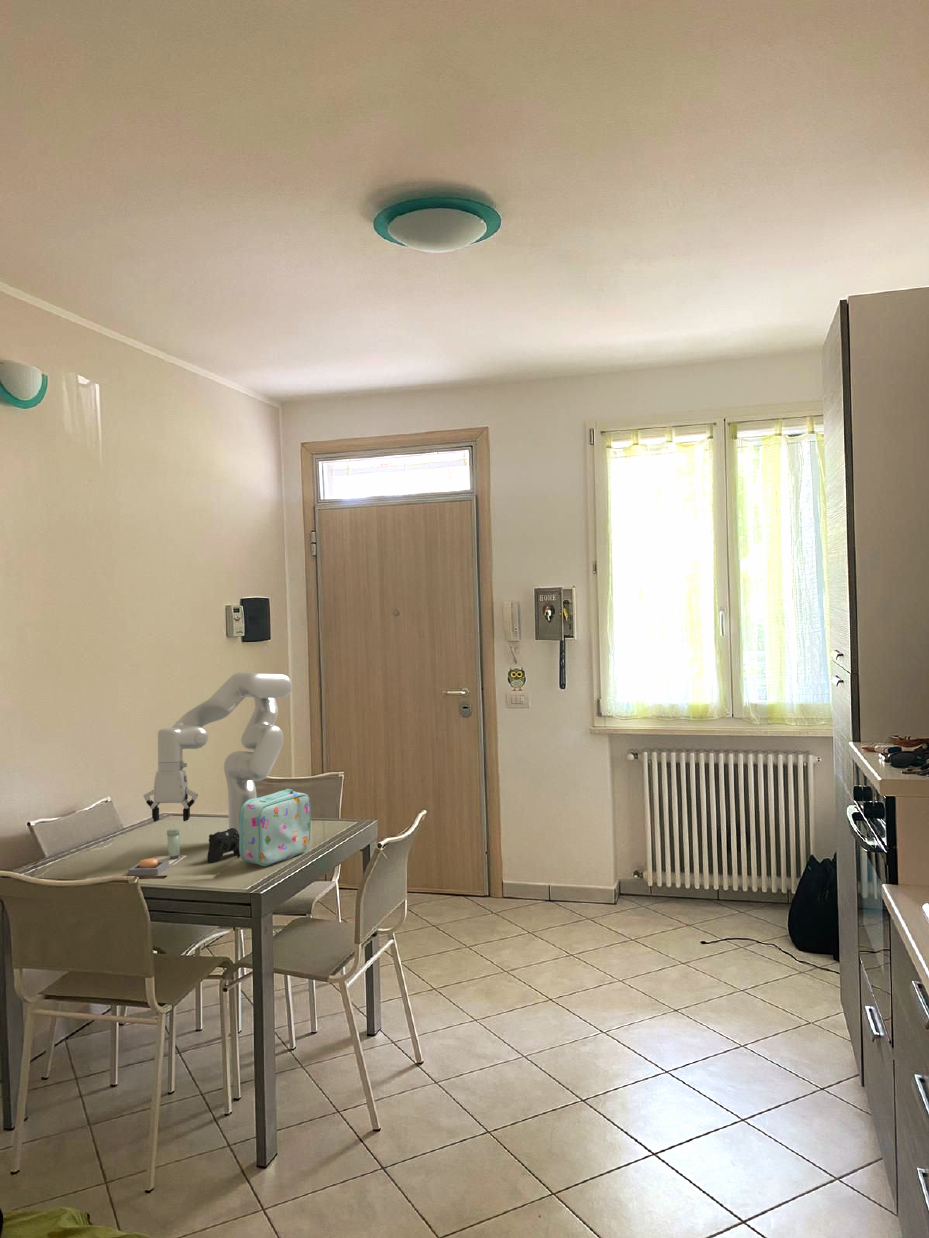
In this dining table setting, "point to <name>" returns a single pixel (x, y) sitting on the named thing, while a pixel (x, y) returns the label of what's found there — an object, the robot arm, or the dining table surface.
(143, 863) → the button
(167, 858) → the drawing board
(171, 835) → the pale green cylinder
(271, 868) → the dining table surface
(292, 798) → the lunch box
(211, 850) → the gaming controller
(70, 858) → the dining table surface
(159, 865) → the button housing
